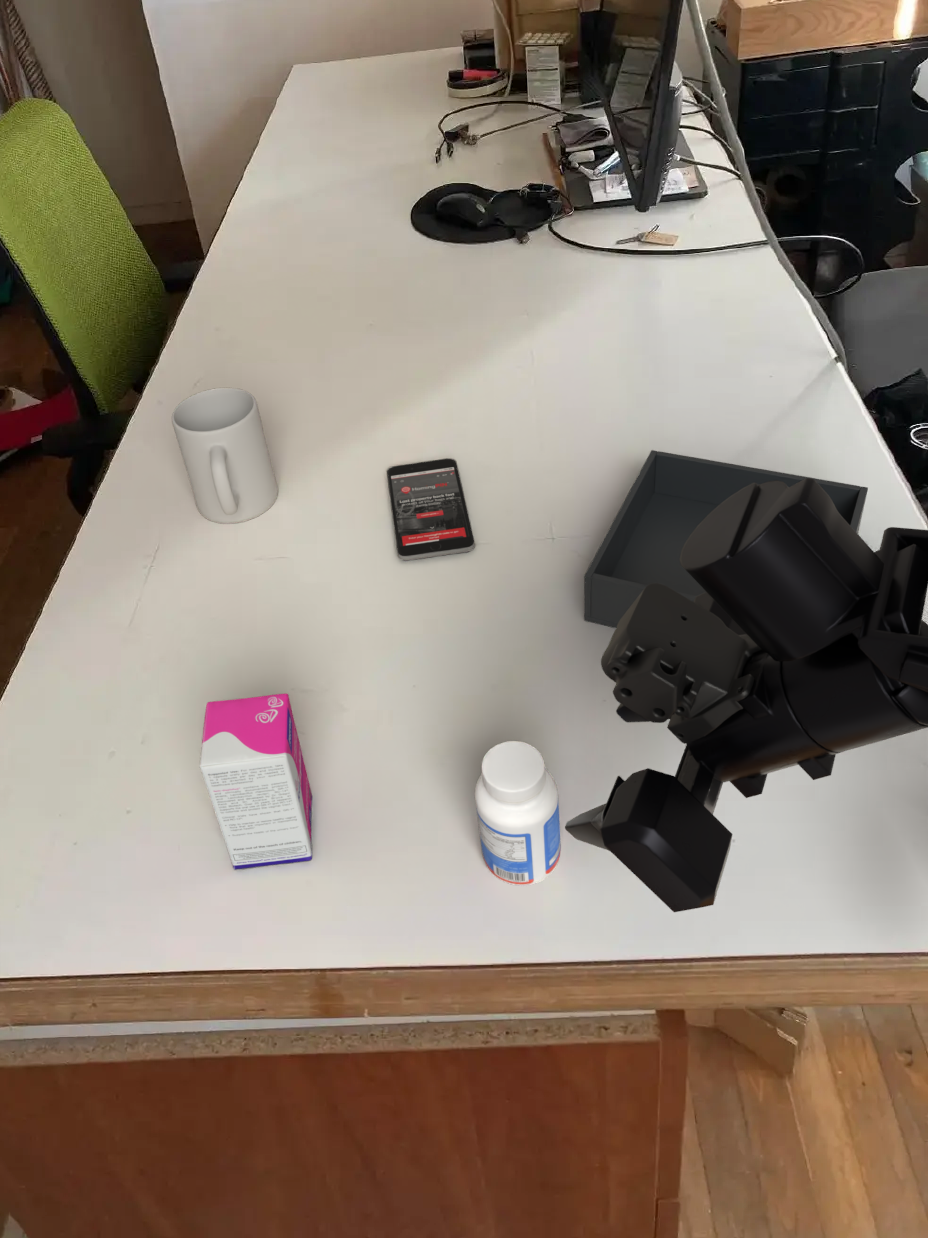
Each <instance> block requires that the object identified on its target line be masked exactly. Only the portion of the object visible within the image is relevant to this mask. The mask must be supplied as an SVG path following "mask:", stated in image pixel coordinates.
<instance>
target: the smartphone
mask: <svg viewBox="0 0 928 1238" xmlns="http://www.w3.org/2000/svg"><path fill="white" fill-rule="evenodd" d="M386 477H387V483H388V491H389V500H390V507H391V515H392V522H393V523H392V524H393V529H394V530H393V531H394V538H395V545H396V552H397V553H396V554H397V557H398V559H399V560H401V561H414V560H421V559H426V558H427V559H428V558H434V557H443V556H448V555H453V554H454V555H455V554H463V553H469V552H471V551H473V550H474V549H475V547H476V543H475V539H474V537H475V536H474V533H473V529H472V524H471V520H470V515H469V510H468V507H467V502H466V499H465V493H464V489H463V485H462V481H461V476H460V472H459V467H458V463H457V460H456V459H454V458H452V457H446V458H439V459H433V460H426V461H419V462H413V463H405V464H399V465H398V464H397V465H391V466H389V467H388V468H387V469H386Z"/></svg>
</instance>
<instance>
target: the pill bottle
mask: <svg viewBox="0 0 928 1238" xmlns="http://www.w3.org/2000/svg"><path fill="white" fill-rule="evenodd" d="M545 763H546V762H545V760H544V758H543V754H542V753H541V752H540V751H539V750H538V749H537V748H536V747H534V746H533V745H531V744H530V743H528V742H524V741H520V740H507V741H503V742H499V743H498V744H495V745H494V746H492V747H491V748H489V749H488V751H487V752H486V753H485V755H484V757H483V758H482V760H481V774H480V776H479V777H478V779H477V781H476V784H475V789H474V802H475V811H476V817H477V824H478V825H477V826H478V832H479V839H480V845H481V846H480V847H481V853H482V858H483V862H484V863H485V866H486V868H487V869H488V871H489V872H490V873H491V874H492V875H493V876H494V877H495V878H496V879H498V880H499V881H502V882H503V883H506V884H509V885H512V886H521V887H522V886H523V887H524V886H526V887H527V886H531V885H536V884H539V883H540V882H541V883H542V881H544V880H546V879H547V878H548V877H550V876H551V875H552V874H553V873H554V871H555V870H556V868H557V867H558V864H559V862H560V858H561V851H562V850H561V849H562V844H561V843H562V842H561V822H560V821H561V820H560V804H559V791H558V790H559V789H558V786H557V783H556V780H555V779H554V777H553V775H552V774H551V773H550V771H549V770H548V769H547V768H546V765H545Z"/></svg>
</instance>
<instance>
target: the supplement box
mask: <svg viewBox="0 0 928 1238" xmlns="http://www.w3.org/2000/svg"><path fill="white" fill-rule="evenodd" d="M295 722H296V721H295V718H294V713H293V709H292V704H291V701H290V696H289V693H288V692H287V693H286V692H285V693H275V694H268V695H260V696H253V697H252V696H251V697H246V698H245V697H243V698H235V699H223V700H214V701H208V702H206V706H205V712H204V719H203V728H202V737H201V746H200V757H199V770H200V773H201V775H202V778H203V780H204V784H205V787H206V789H207V792H208V796H209V798H210V802H211V805H212V808H213V811H214V813H215V816H216V819H217V823H218V825H219V826H218V827H219V829H220V831H221V834H222V837H223V840H224V843H225V846H226V849H227V852H228V855H229V858H230V861H231V865H232V869H233V870H234V871H238V870H239V871H240V870H248V869H254V868H255V869H256V868H263V867H271V866H279V865H288V864H295V863H296V864H297V863H304V862H310V861H312V859H313V845H312V815H313V813H312V811H313V810H312V809H313V795H312V794H313V793H312V789H311V786H310V785H311V784H310V781H309V776H308V772H307V767H306V763H305V759H304V756H303V750H302V747H301V742H300V738H299V734H298V730H297V726H296V723H295Z"/></svg>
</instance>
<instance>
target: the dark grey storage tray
mask: <svg viewBox="0 0 928 1238" xmlns="http://www.w3.org/2000/svg"><path fill="white" fill-rule="evenodd" d="M806 478H811V479H814V480H815V481H816V482H817V483H818V484H819V485H820V486H821V487H822V489H823V490H824V491H825V492H826V493H827V494H828V495H829V497H830V498H831V499H832V501H833V503H834V505H835V507H836V509H837V511H838V512H839V514H840V515H841V516H842V517H843V518H844V519H845V521H846V522H847V523H848V524H849V525H850V526H851V527H852V528H853V529H854V531H855V532H856V533H857V534H858V535H859V531H860V527H861V523H862V517H863V513H864V509H865V505H866V499H867V495H868V490H869V487H867V486H860V485H856V484H850V483H844V482H839V481H833V480H828V479H822V478H816V477H811V476H804V475H799V474H792V473H787V472H780V471H775V470H770V469H763V468H757V467H751V466H747V465H741V464H734V463H729V462H723V461H717V460H711V459H706V458H700V457H695V456H689V455H683V454H678V453H671V452H665V451H660V450H654V449H652V450H650V453H649V454H648V456H647V458H646V460H645V462H644V463H643V466H642V467H641V469H640V471H639V473H638V475H637V477H636V479H635V480H634V482H633V484H632V485H631V488H630V490H629V492H628V493H627V495H626V497H625V499H624V501H623V503H622V504H621V507H620V508H619V510H618V512H617V514H616V516H615V517H614V520H613V521H612V524H611V525H610V527H609V529H608V531H607V533H606V535H605V536H604V538H603V540H602V542H601V543H600V545H599V547H598V549H597V551H596V553H595V555H594V556H593V559H592V560H591V562H590V564H589V567H587V570H586V572H585V574H584V575H583V577H584V578H583V579H584V581H583V582H584V583H583V584H584V585H583V586H584V587H583V588H584V589H583V591H584V593H583V596H584V597H583V598H584V599H583V600H584V601H583V603H584V605H583V611H584V612H583V621H586V622H589V623H593V624H597V625H602V626H606V627H610V628H613V629H616V628H617V624H618V622H619V621H620V619H621V618H622V617H623V615H624V614H625V613H626V611H627V610H628V609H629V608H630V606H631V605H632V604H633V603H634V601H635V600H636V599H637V597H638V596H639V595H640V594H641V592H642V591H643V590H644V588H645V587H646V586H647V585H649V584H651V583H660V584H663V585H666V586H667V587H669V588H671V589H672V590H674V591H676V592H678V593H679V594H681V595H683V596H684V597H686V598H688V599H689V600H691V601H693V602H694V600H695V597H696V596H698V595H700V594H702V593H705V592H706V591H705V590H704V589H703V588H702V587H701V586H700V585H699V583H698V582H697V581H696V580H695V579H694V578H693V577H692V576H691V575H690V574H689V573H688V572H687V571H686V570H685V569H684V568H683V567H682V566H681V563H680V555H681V551H682V548H683V546H684V544H685V543H686V541H687V539H688V538H689V536H690V535H691V533H692V532H693V531H694V530H695V528H696V527H697V526H698V525H699V524H700V523H701V522H702V521H703V519H704V518H705V517H706V516H707V515H708V514H709V513H710V512H712V511H713V510H714V509H715V508H716V507H717V506H718V505H720V504H721V503H722V502H723V501H725V500H726V499H727V498H729V497H730V496H731V495H733V494H734V493H736V492H738V491H739V490H741V489H742V488H744V487H746V486H748V485H750V484H752V483H754V482H755V483H757V485H759V484H762V483H765V482H768V481H776V480H778V481H782V482H784V483H785V484H786V485H787V486H788V487H791V486H793V485H795V484H796V483H798V482H800V481H802V480H804V479H806Z"/></svg>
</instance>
